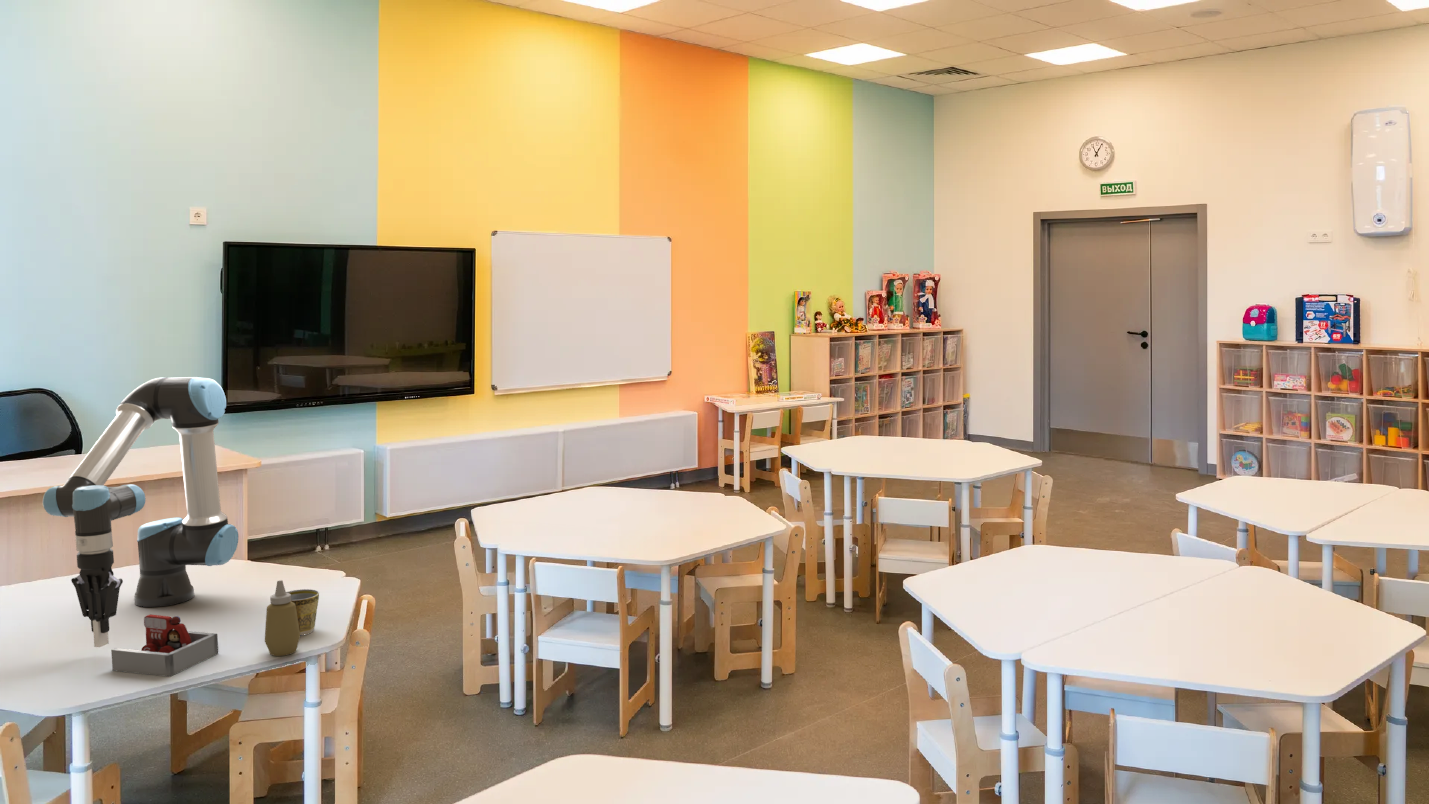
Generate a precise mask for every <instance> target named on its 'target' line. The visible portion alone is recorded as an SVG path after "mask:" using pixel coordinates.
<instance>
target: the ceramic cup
mask: <svg viewBox="0 0 1429 804" xmlns="http://www.w3.org/2000/svg"><path fill="white" fill-rule="evenodd" d="M286 593H289V594H291V602H293V603H295V605H296V612H297V618H298V624H299V631H300V635H303V636H305V635H304V634H307V635H309V634H308V633H310V634H311V633H312V632H314V631H315V627H316V619H317V618H316V617H317V612H318V606H319V598H320V592H319V591H318V590H315V589H311V588H310V589H308V588H307V589H305V588H304V589H293V590H290V591H286ZM313 630H314V631H313Z"/></svg>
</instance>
